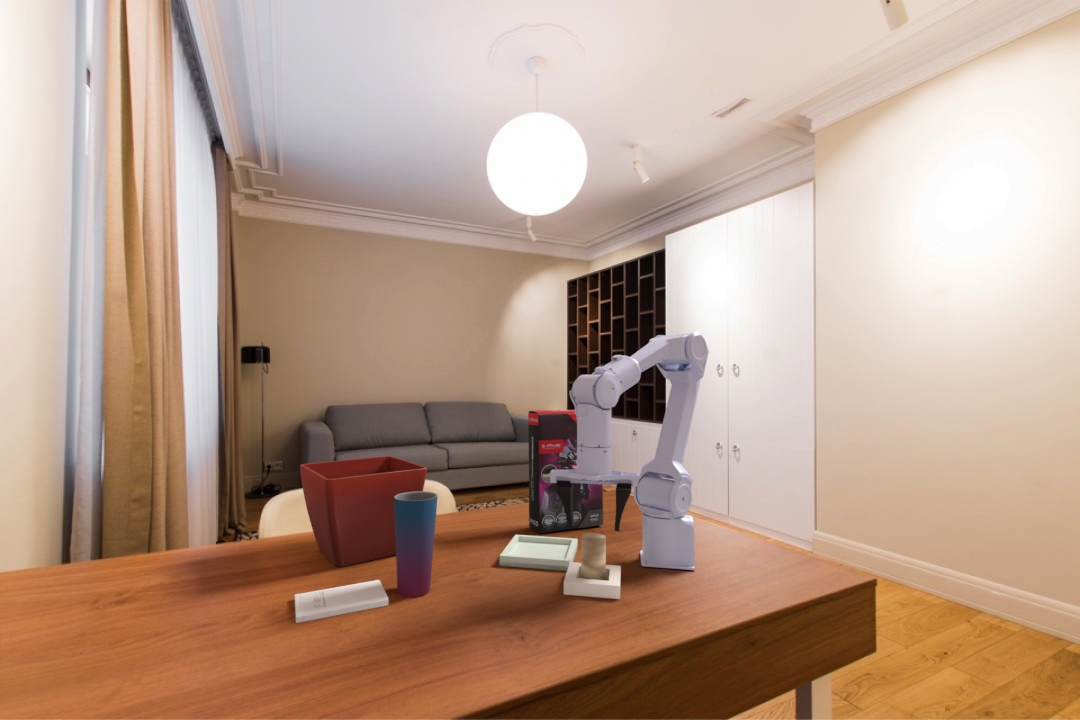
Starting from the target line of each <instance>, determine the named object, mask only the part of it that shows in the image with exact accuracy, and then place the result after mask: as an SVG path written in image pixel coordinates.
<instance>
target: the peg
mask: <svg viewBox="0 0 1080 720" xmlns="http://www.w3.org/2000/svg"><path fill="white" fill-rule="evenodd" d="M606 542H607V537H606V535H604V534H602V533H597V532H596V533H595V532H587V533H583V534H582V535H581V562H580V563H581V578H582V579H594V580H606V565H607V559H606V558H607V555H606V553H607V550H606V549H607V547H606V546H607V545H606V544H607V543H606Z"/></svg>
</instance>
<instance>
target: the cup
mask: <svg viewBox="0 0 1080 720" xmlns="http://www.w3.org/2000/svg"><path fill="white" fill-rule="evenodd" d="M438 497H439V496H438V494H437V493H435V492H432V491H424V490H423V491H415V492H405V493H401V494H397V495H395V496H394V508H395V536H396V556H395V559H396V560H395V561H396V564H395V565H396V583H397V584H396V587H397V588H396V589H397V595H398V596H399V597H402V598H409V599H410V598H413V599H414V598H420V597H422V596H426V595H427V594H429V592H430V591H431V579H432V569H433V568H432V567H433V557H434V544H435V534H436V533H435V532H436V531H435V530H436V519H437V508H438Z"/></svg>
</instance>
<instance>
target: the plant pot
mask: <svg viewBox="0 0 1080 720" xmlns="http://www.w3.org/2000/svg"><path fill="white" fill-rule="evenodd" d="M299 469H300V471H299V472H300V478H301V485H302V487H301V488H302V491H303V492H302V493H303V496H304V502H305V506H306V510H307V515H308V518H309V522H310V526H311V529H312V533H313V535H314V538H315V542H316V543H317V545H316V546H317V547H318V550H319V551H320V552H321V553H323V555H324V556H325V557H326V558H327V559H328V560H329V561H331V563H333V565H334V566H336V567H339V568H340V567H347V566H350V565H355V564H360V563H363V562H368V561H373V560H377V559H382V558H387V557H390V556H395V555H396V536H395V508H394V496H395V495H397V494H401V493H405V492H415V491H424V489H425V488H424V487H425V482H426V478H427V470H428V467H426V466H424V465H421V464H418V463H417V464H416V463H414V462H412V461H411V462H410V461H408V460H404V459H403V458H399V457H396V456H392V455H390V456H389V455H386V456H385V455H384V456H376V457H373V456H372V457H362V458H353V459H352V458H350V459H342V460H331V461H330V460H329V461H320V462H319V461H317V462H309V463H308V462H307V463H302V464H300V465H299Z"/></svg>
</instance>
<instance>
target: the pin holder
mask: <svg viewBox="0 0 1080 720" xmlns="http://www.w3.org/2000/svg"><path fill="white" fill-rule="evenodd" d="M621 576H622V566H621V565H616V564H606V580H594V579H582V578H581V562H576V561H573V562H570V564H569V567H568V570H567V571H566V573H565V576H564V579H563V595H565V596H566V595H567V596H576V597H577V596H579V597H590V598H599V599H601V598H602V599H613V600H621V582H622V581H621V580H622V579H621Z"/></svg>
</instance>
